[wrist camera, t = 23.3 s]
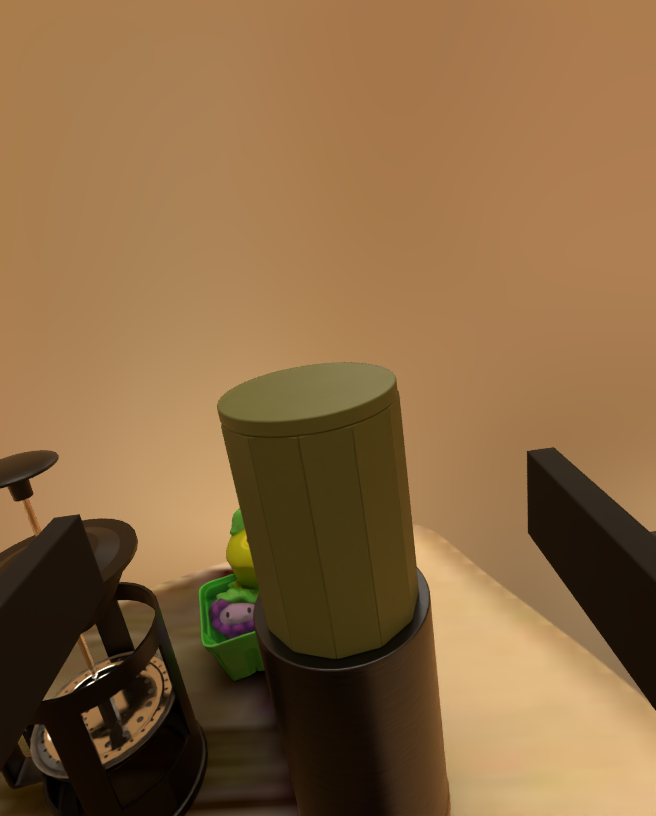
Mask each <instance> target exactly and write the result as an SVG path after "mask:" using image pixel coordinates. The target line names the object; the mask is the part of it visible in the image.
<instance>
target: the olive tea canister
mask: <svg viewBox="0 0 656 816" xmlns="http://www.w3.org/2000/svg"><path fill="white" fill-rule="evenodd" d="M217 409H218V414H219V418H220V421H221V423H222V425H221V428H222V433H223V437H224V441H225V445H226V450H227V454H228V458H229V463H230V467H231V471H232V475H233V480H234V484H235V488H236V493H237V497H238V501H239V505H240V510H241V514H242V519H243V523H244V527H245V531H246V536H247V540H248V544H249V549H250V553H251V557H252V561H253V566H254V570H255V574H256V579H257V583H258V587H259V592H260V596H261V600H262V604H263V609H264V613H265V617H266V622H267V626H268V629H269V630H270V631H271V632H272V633H273V634H274V635H275V636H276V637H278V638H279V639H280V640H281V641H282V642H283V643H284V644H285V645H287V646H288V647H289V648H290V649H291V650H292V651H295V652H296V653H301V654H307V655H313V656H319V657H325V658H331V659H341V658H344V657H348V656H352V655H355V654H359V653H363V652H366V651H370V650H374V649H377V648H381V646H384V645H385V644H386V643H387V642H388V641H390V640H391V639H392V638H393V637H394V636H395V635H396V634H397V633H399V632H400V631H401V630H402V629H403V628H404V627H405V626H406V625H408V624H409V623H410V622H411V620H412V619H413V615H414V610H415V606H416V602H417V597H418V593H419V586H418V576H417V566H416V556H415V546H414V536H413V526H412V516H411V506H410V496H409V487H408V477H407V468H406V457H405V447H404V437H403V427H402V417H401V407H400V397H399V392H398V391H397V382H396V377H395V375H394V373H393V372H391V371H390V370H388V369H386V368H384V367H381V366H378V365H373V364H366V363H353V362H342V363H323V364H315V365H307V366H301V367H295V368H290V369H285V370H281V371H277V372H273V373H270V374H266V375H263V376H260V377H257V378H254V379H251V380H249V381H247V382H244V383H242V384H240V385H238V386H236V387H234V388H233V389H231V390H229V391H228V392H227V393H225V394H224V395H223V396H222V397H221V398H220V400H219V401H218V404H217Z"/></svg>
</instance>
